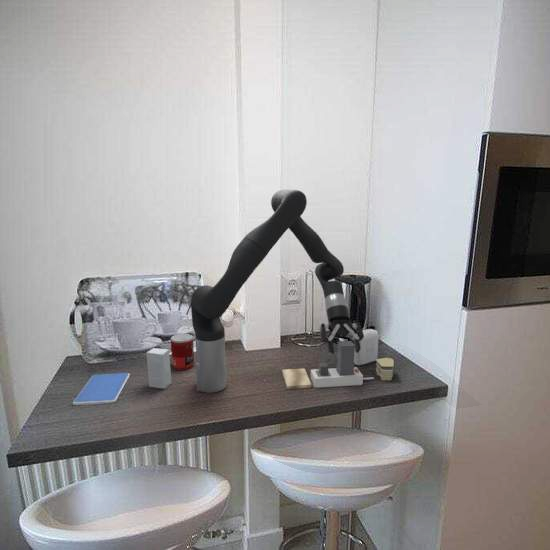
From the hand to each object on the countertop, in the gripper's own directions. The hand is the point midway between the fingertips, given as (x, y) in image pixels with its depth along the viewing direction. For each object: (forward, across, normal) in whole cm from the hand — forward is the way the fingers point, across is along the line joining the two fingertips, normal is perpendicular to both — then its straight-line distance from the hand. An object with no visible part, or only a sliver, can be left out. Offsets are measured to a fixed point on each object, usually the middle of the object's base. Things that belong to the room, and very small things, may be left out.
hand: (345, 352), depth 130 cm
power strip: (+7, 0, +7) cm, 10 cm away
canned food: (-6, -55, +20) cm, 59 cm away
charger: (+5, 0, +4) cm, 7 cm away
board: (+5, -16, +9) cm, 19 cm away
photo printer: (-2, +12, +17) cm, 21 cm away
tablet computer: (+4, -79, +11) cm, 80 cm away
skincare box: (+4, -61, +10) cm, 62 cm away
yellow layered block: (+7, +15, +8) cm, 18 cm away
